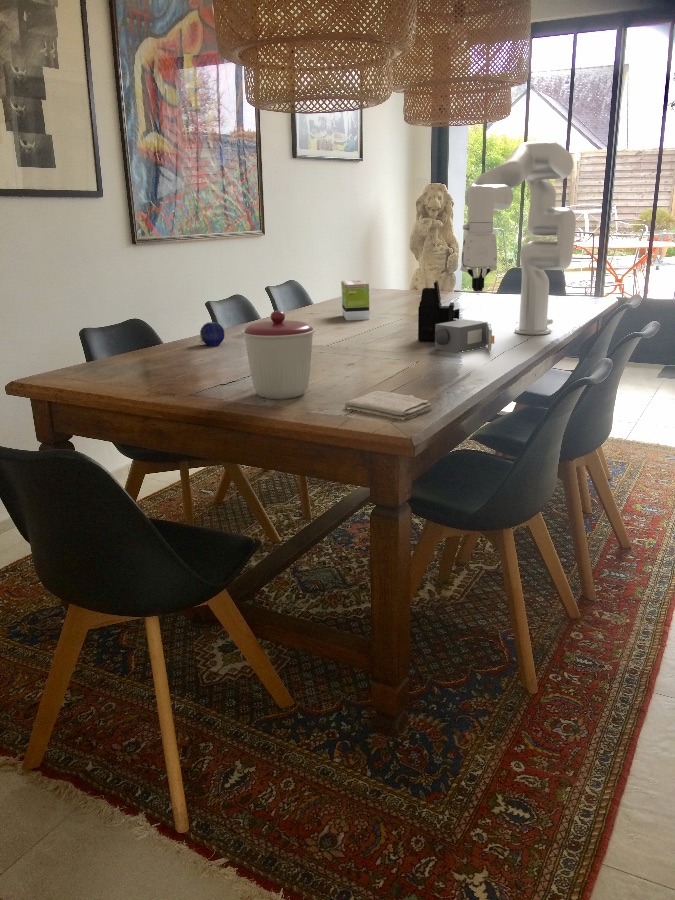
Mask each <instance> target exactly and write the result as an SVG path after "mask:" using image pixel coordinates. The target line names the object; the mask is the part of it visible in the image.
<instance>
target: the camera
mask: <svg viewBox="0 0 675 900" xmlns="http://www.w3.org/2000/svg"><path fill="white" fill-rule="evenodd" d="M439 285H440V284H439V281H438V280H435V281H434V282H433V287H423V288H422V290H421V291H422V292H421V298H420V301H419V306H418V310H417V311H418V313H417V314H418V315H417V316H418V317H417V320H418V322H417V324H418V325H417V326H418V327H417V330H418V331H417V332H418V333H417V340H418V342H420V343H435V324H440V323H445V322H451V321H456V320H460V308H455V306H456V305H455V303H454V302H450V303H449V305H442V302H441V298H442V297H441V292H440V286H439Z"/></svg>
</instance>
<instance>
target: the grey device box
mask: <svg viewBox="0 0 675 900" xmlns="http://www.w3.org/2000/svg"><path fill="white" fill-rule="evenodd" d="M455 320H456V321H451V322H445V323H440V324H435V342H434V349H435V350H438V349H441V350H440V351H444V350H447V351H446V352H450V351H454V352H453V353H456V352H461V353H463V352H462V351H465V352H468V351H467V350H470V351H473V350H472V349H474V350H477V349H476V348H479V349H481V348H480V347H483V348H486V347H485V346H487V344H486V341H487V324H489V323H488V321H480V320H474V319H473V320H472V319H465V318H462V319H455ZM487 347H488V346H487Z"/></svg>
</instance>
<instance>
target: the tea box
mask: <svg viewBox="0 0 675 900" xmlns="http://www.w3.org/2000/svg"><path fill="white" fill-rule="evenodd" d="M340 283H341V306H342V307H341V310H342V311H341V313H342V316H343V317H344V319H345V320H346V321H364V320H365V321H366V320H370V316H371V315H370V314H371V313H370V285H369V283H368V282H367V281H365V280H364V279H357V280H356V279H353V280H341V282H340Z"/></svg>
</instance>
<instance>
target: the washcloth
mask: <svg viewBox="0 0 675 900" xmlns="http://www.w3.org/2000/svg"><path fill="white" fill-rule="evenodd" d="M432 406H433V405H432V403H430V402H429V400H428V399H422V398H418V397H415V396H414V394H409V395H407V394H400V393H397V392H390V391H389V392H388V391H383V390H375V391H370V392H368V393H366V394H365V395H363V396H361V397H360V396H359V397H356V398H355V397H354V398H353V399H350V400H347V401H345V403H344V408H345V409H346V408H350V409H354V410H353V411H355V410H359V411H358V412H360V411H362V412H361V413H365V412H366V414H370V415H371V414H372V415H375V414H376V415H377V416H382V417H386V416H387V418H391V419H395V418H396V420H400V419H401V421H405V420H407V419H412V418H414V417H417V415H418V416H419V414H420V415H422V414H425V413H428V412H429V411H431V410H432V409H433V407H432ZM350 409H349V410H350Z"/></svg>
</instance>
